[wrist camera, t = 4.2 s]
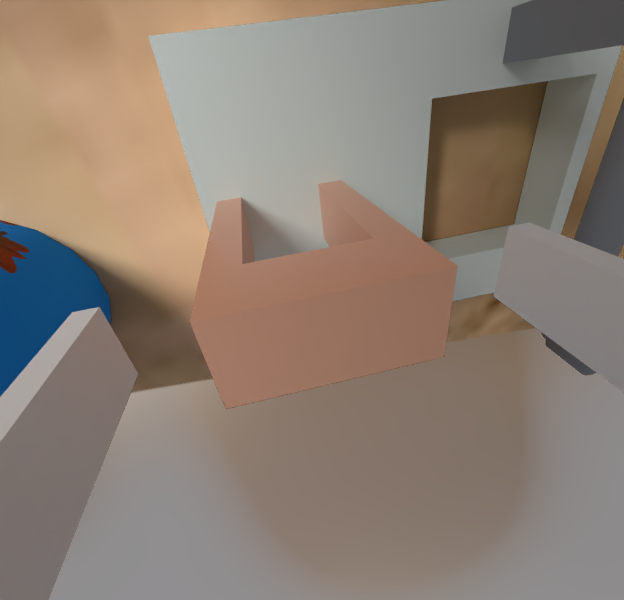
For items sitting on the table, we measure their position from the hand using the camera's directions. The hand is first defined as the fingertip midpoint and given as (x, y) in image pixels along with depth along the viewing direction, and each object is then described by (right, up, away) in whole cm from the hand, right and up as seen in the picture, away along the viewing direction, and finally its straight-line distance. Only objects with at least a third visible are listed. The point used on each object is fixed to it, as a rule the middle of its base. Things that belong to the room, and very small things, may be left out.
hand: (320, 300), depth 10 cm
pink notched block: (-2, +4, +6) cm, 8 cm away
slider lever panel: (+5, +7, +10) cm, 13 cm away
